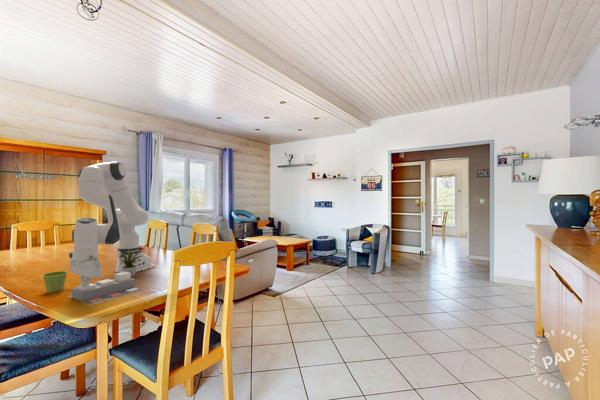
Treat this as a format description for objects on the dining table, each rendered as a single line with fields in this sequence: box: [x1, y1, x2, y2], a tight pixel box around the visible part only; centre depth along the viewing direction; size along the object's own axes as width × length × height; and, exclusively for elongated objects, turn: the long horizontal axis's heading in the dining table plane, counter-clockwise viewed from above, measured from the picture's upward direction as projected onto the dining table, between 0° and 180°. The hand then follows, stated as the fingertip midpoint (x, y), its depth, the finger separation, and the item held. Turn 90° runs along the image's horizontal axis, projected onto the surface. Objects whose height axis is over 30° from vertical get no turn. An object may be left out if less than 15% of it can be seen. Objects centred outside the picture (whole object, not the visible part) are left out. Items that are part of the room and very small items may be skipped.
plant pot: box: [41, 270, 69, 294], centre depth 135 cm, size 9×9×9 cm
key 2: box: [114, 272, 132, 282], centre depth 140 cm, size 5×5×5 cm
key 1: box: [76, 283, 95, 291], centre depth 126 cm, size 5×5×5 cm
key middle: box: [96, 278, 114, 286], centre depth 133 cm, size 5×5×5 cm
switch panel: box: [67, 277, 145, 306], centre depth 132 cm, size 23×20×5 cm
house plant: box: [117, 250, 142, 277], centre depth 159 cm, size 14×14×16 cm
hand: (85, 285), depth 125 cm, fingers closed, pressing on key 1
